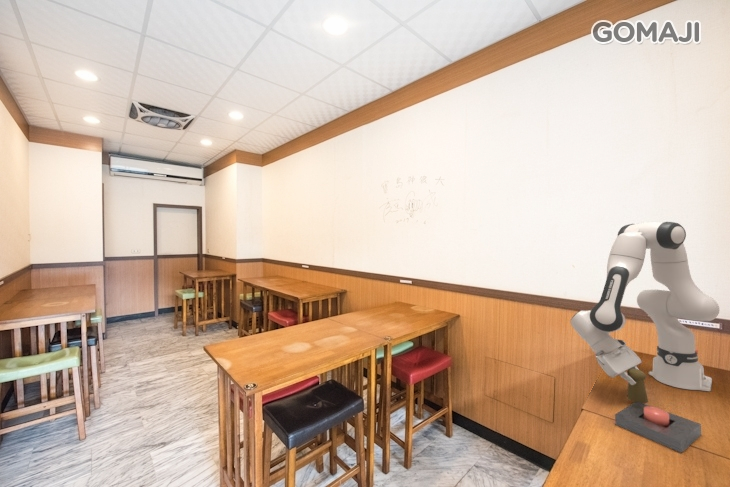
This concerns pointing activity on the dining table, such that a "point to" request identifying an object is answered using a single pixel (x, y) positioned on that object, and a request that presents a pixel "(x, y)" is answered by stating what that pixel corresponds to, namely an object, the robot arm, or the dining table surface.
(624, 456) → the dining table surface
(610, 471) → the dining table surface
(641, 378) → the olive pepper mill
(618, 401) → the dining table surface
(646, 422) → the switch box
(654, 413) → the button
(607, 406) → the dining table surface
